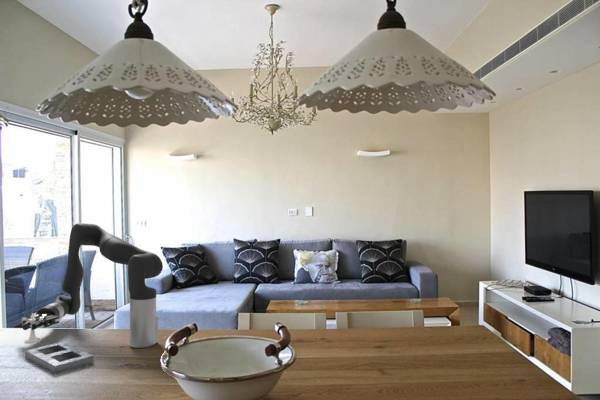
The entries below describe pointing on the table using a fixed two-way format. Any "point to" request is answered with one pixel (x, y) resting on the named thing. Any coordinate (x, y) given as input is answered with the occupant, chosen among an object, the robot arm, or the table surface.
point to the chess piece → (32, 333)
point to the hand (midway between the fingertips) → (28, 327)
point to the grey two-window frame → (59, 357)
